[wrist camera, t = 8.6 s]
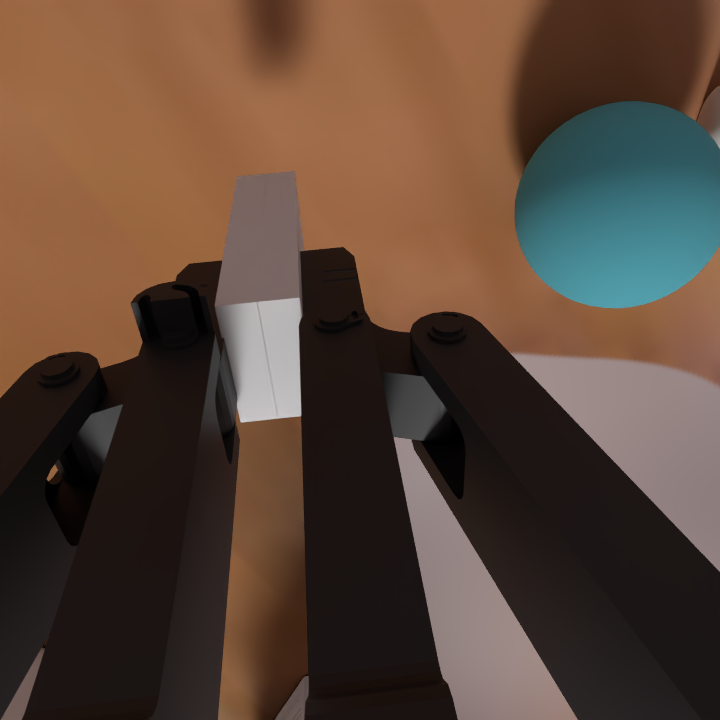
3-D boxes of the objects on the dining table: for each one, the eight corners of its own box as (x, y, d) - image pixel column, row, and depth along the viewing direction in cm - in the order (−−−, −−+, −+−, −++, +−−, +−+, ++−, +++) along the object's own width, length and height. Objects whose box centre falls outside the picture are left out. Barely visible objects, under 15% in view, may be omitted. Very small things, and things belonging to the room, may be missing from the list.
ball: (789, 95, 18) (579, 59, 20) (737, 177, 14) (492, 121, 17) (714, 275, 22) (547, 226, 24) (659, 375, 18) (471, 304, 21)
